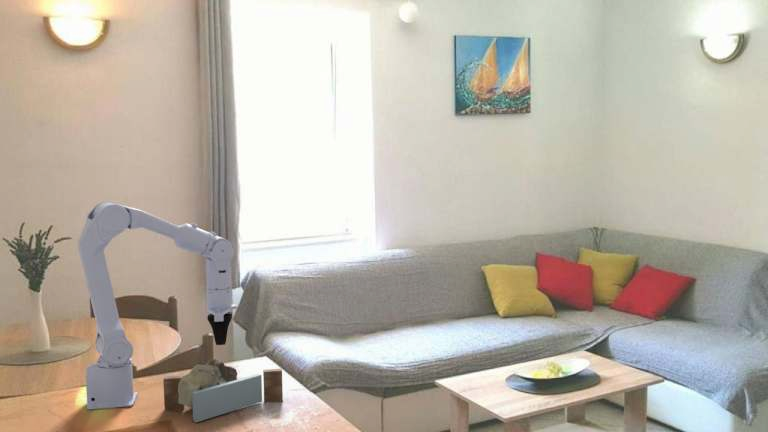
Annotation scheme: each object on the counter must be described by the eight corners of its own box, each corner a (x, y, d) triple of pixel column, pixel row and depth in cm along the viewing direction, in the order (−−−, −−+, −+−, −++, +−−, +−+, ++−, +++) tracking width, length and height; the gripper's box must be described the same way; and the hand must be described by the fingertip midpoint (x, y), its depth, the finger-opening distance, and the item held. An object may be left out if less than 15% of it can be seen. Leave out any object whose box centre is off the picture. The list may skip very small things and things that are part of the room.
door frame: (164, 410, 153) (163, 379, 152) (165, 408, 154) (164, 376, 154) (282, 401, 158) (281, 370, 157) (282, 399, 159) (281, 368, 158)
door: (196, 422, 146) (195, 393, 145) (193, 420, 146) (192, 392, 146) (262, 401, 157) (261, 375, 156) (258, 400, 158) (258, 373, 157)
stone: (234, 349, 153) (218, 341, 161) (173, 385, 146) (160, 376, 155) (254, 391, 155) (238, 382, 164) (196, 429, 149) (182, 417, 157)
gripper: (236, 293, 162) (237, 351, 163) (236, 281, 176) (238, 335, 178) (204, 294, 161) (206, 353, 162) (207, 282, 175) (208, 336, 176)
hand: (220, 344), depth 170 cm, fingers closed
